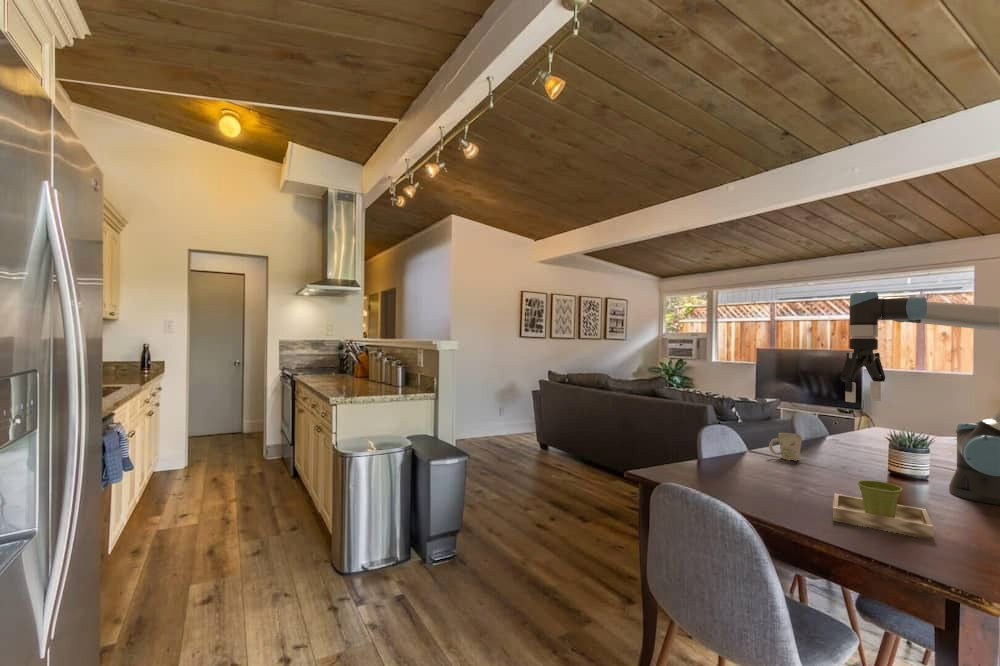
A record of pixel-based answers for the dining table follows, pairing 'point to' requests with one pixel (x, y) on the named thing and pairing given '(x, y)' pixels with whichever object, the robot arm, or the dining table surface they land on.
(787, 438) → the mug
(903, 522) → the tray
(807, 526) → the dining table surface
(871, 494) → the plant pot
